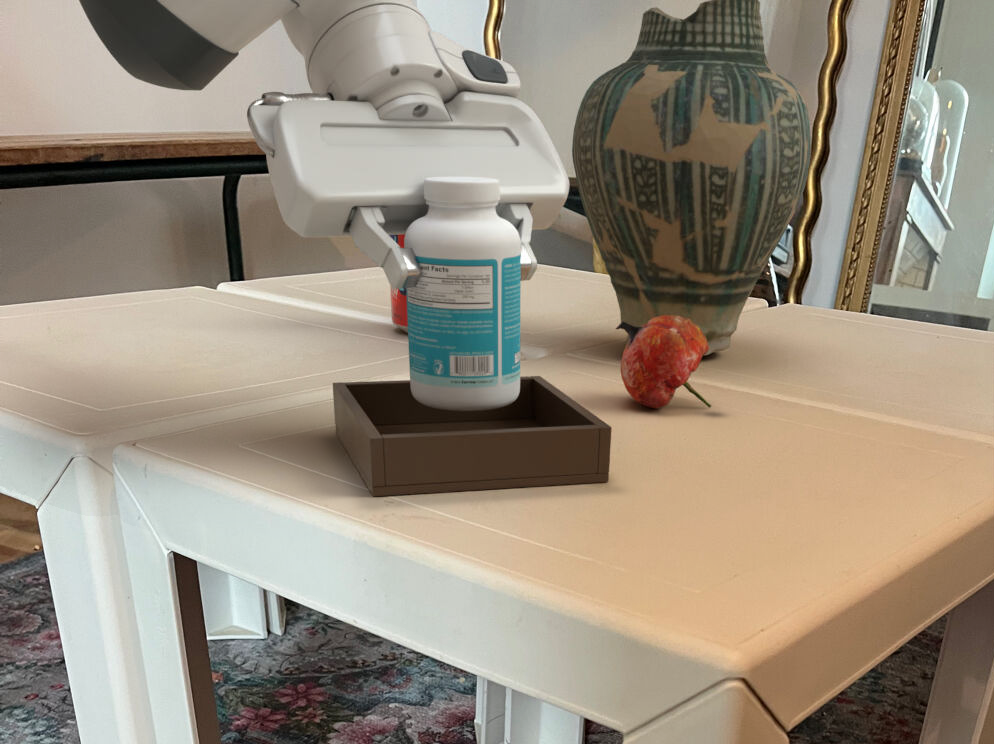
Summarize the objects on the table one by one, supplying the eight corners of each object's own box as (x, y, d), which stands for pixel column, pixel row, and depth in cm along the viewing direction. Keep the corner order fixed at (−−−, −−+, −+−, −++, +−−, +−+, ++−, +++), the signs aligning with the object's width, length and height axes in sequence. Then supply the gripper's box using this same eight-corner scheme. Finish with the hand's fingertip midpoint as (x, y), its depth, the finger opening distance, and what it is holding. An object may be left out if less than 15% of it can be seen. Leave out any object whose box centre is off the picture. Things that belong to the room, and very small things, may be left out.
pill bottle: (471, 384, 81) (470, 173, 74) (542, 403, 76) (547, 181, 69) (387, 398, 76) (377, 175, 69) (457, 420, 72) (454, 183, 65)
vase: (827, 371, 108) (882, -2, 93) (614, 380, 101) (637, -21, 86) (722, 330, 126) (754, 12, 111) (535, 336, 119) (542, -3, 104)
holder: (372, 496, 69) (369, 438, 68) (335, 432, 82) (332, 382, 80) (608, 482, 74) (611, 427, 72) (538, 423, 87) (540, 375, 85)
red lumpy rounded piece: (691, 422, 98) (606, 342, 96) (749, 359, 93) (660, 275, 92) (673, 452, 92) (581, 368, 90) (733, 387, 88) (638, 298, 86)
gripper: (247, 49, 66) (333, 250, 64) (534, 66, 76) (615, 239, 74) (226, 133, 71) (306, 321, 69) (497, 138, 82) (572, 300, 80)
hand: (468, 278), depth 72 cm, fingers closed on pill bottle, 7 cm apart
